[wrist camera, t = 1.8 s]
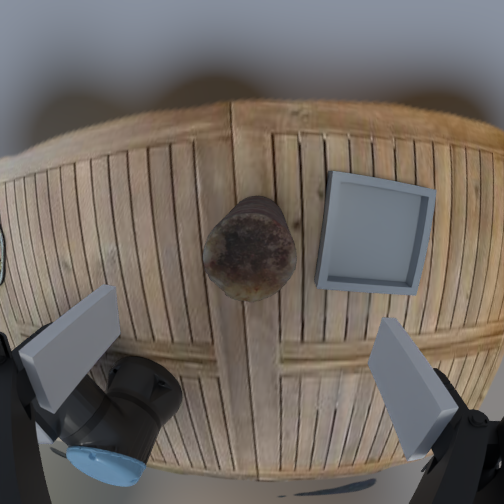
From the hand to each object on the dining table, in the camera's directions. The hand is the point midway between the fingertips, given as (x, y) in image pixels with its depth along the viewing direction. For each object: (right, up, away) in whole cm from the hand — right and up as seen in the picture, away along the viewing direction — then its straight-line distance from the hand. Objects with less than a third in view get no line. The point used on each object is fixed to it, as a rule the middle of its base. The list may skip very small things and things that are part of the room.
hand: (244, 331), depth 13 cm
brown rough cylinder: (+1, +8, +28) cm, 29 cm away
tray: (+18, +6, +27) cm, 33 cm away
